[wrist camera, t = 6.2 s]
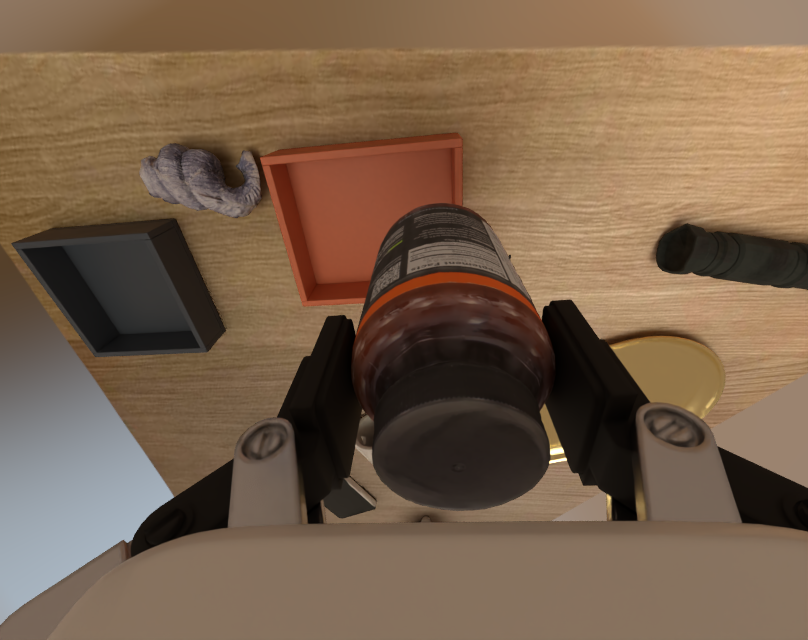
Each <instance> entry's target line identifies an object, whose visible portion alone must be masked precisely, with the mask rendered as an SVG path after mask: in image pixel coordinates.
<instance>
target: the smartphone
mask: <svg viewBox="0 0 808 640" xmlns="http://www.w3.org/2000/svg"><path fill="white" fill-rule="evenodd" d="M323 501H324V506H325V507H326V508H327V509H329V510H330V511H331V512H332V513H334V514H335V515H336V516H337V517H339V518H346V517H349V516H353V515H356V514H360V513H363V512H366V511H370V510H373V509H375V508H376V500H374V499H373V498H372V497H371V496H370V495H369V494H368V493H367V492H366V491H365V490H363V489H362V488H361V487H360V486H359V485H358V484H357V483H356V482H355V481H354V480H353V479H351V478H350V477H349V478H343V483H342V488H341V490H331V491H330V494H329V495H327V496H326V497H325V498H324V499H323Z"/></svg>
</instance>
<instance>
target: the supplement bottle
mask: <svg viewBox="0 0 808 640" xmlns="http://www.w3.org/2000/svg"><path fill="white" fill-rule="evenodd" d="M510 258H511V255H509V257H508V255H507V253H506V251H505V250H504V248H503V246H502V244H501V242H500V240H499V238H498V237H497V235H496V234H495V232H494V231H493V229H492V228H491V226H490V225H489V224H488V223H487V222H486V221H485V219H483V218H482V217H481V216H480V215H479V214H477V213H475V212H474V211H472V210H470V209H468V208H466V207H463V206H460V205H456V204H449V203H434V204H428V205H424V206H420V207H417V208H415V209H413V210H412V211H410V212H408V213H407V214H405V215H404V216H402V217H401V218H399V220H398V221H396V222H395V223H394V224H393V226H392V227H391V228H390V229H389V231H388V232H387V234H386V236H385V237H384V240H383V242H382V243H381V245H380V248H379V251H378V255H377V259H376V262H375V266H374V270H373V273H372V276H371V281H370V284H369V288H368V292H367V295H366V299H365V303H364V307H363V311H362V314H361V318H360V322H359V326H358V329H357V334H356V337H355V341H354V345H353V350H352V360H351V379H352V384H353V388H354V391H355V393H356V396H357V399H358V401H359V403H360V406H361V407H362V408H363V410H364V411H365V413H366V414H367V415H368V416H369V417H370V418H371V419H372V420H373V421H374V436H373V446H372V461H373V466H374V469H375V470H376V473H377V475H378V476H379V477H380V479H381V481H382V482H383V483H384V484H385V485H387V486H388V487H389V488H390V489H391V490H392V491H393V492H395V493H396V494H398V495H399V496H401V497H403V498H404V499H406V500H409V501H412V502H414V503H416V504H419V505H422V506H428V507H432V508H438V509H443V510H453V511H464V510H480V509H487V508H491V507H494V506H498V505H502V504H505V503H507V502H509V501H511V500H514V499H516V498H518V497H520V496H522V495H523V494H525V493H526V492H528V491H529V490H531V489H532V488H533V487H534V486H535V485H536V484H537V483H538V482H539V481H540V479H541V478H542V477H543V475H544V474H545V472H546V470H547V468H548V466H549V463H550V458H551V455H550V443H549V439H548V436H547V432H546V430H545V427H544V424H543V422H542V420H541V419H542V417H541V414H540V410H541V409H542V408H543V405H544V404H545V402H546V400H547V399H548V397H549V395H550V393H551V391H552V388H553V386H554V381H555V376H556V360H555V353H554V350H553V347H552V343H551V340H550V337H549V335H548V332H547V330H546V328H545V326H544V324H543V322H542V320H541V319H540V316H539V314H538V313H537V311H536V308H535V306H534V304H533V302H532V300H531V297H530V296H529V294H528V292H527V291H526V289H525V287H524V285H523V283H522V281H521V279H520V277H519V275H518V274H517V272H516V270H515V268H514V266H513V264H512V263H511V261H510Z"/></svg>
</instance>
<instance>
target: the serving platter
mask: <svg viewBox="0 0 808 640" xmlns="http://www.w3.org/2000/svg"><path fill="white" fill-rule="evenodd" d="M609 346H610V347H611V348H612V350H613V351H614V353H615V354H616V355H617V357H618V358H619V360H620V361H621V362H622V364H623V365H624V366H625V368H626V369H627V371H628V372H629V373H630V375H631V376H632V377H633V379H634V380H635V382H636V383H637V384H638V386H639V387H640V388H641V390H642V391H643V393H644V394H645V395H646V397H647V398H648V400H649V401H650V402H651V403H653V402H662V403H669V404H673V405H676V406H680V407H682V408H684V409H686V410H688V411H691V412H692V413H694V414H695V415H697V416H698V417H699V418H701V419H703V418H704V417H705V416H706V415H707V414H708V413H709V412H710V411H711V410H712V408H713V407H714V406H715V405H716V403H717V402H718V400H719V398H720V396H721V394H722V392H723V389H724V385H725V370H724V366H723V364H722V362H721V360H720V359H719V357H718V356H717V355H716V354H715V353H714V352H713V351H712V350H710V349H709V348H708V347H706V346H704V345H703V344H701V343H698V342H696V341H693V340H690V339H686V338H681V337H674V336H647V337H639V338H634V339H630V340H625V341H621V342H617V343H613V344H609ZM540 414H541V417H542V419H541V420H542V422H543V424H544V427H545V430H546V432H547V436H548V439H549V443H550V455H551V458H550V463H554V462H560V461H566V460H567V459H566V456H565V454H564V451H563V449H562V446H561V443H560V441H559V438H558V436H557V433H556V431H555V428H554V425H553V423H552V420H551V418H550V415H549V412H548V410H547V407H546V405H545V404H544V405H543V408H542V409H541V410H540Z"/></svg>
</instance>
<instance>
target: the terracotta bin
mask: <svg viewBox="0 0 808 640" xmlns="http://www.w3.org/2000/svg"><path fill="white" fill-rule="evenodd" d="M462 146H463V139H462V137H461V136H460V135H459V134H458V133H447V134H437V135H427V136H416V137H406V138H395V139H385V140H375V141H364V142H354V143H344V144H333V145H323V146H313V147H302V148H292V149H282V150H277V151H275V152H272V153H270V154H267V155H265V156H262V157H260V160H261V164H262V165H263V166H262V167H263V171H264V174H265V178H266V181H267V184H268V188H269V191H270V195H271V198H272V202H273V205H274V208H275V212H276V215H277V219H278V222H279V226H280V229H281V233H282V236H283V239H284V243H285V246H286V250H287V253H288V257H289V260H290V263H291V267H292V270H293V274H294V277H295V281H296V284H297V288H298V291H299V294H300V298H301V301H302V305H303V306H321V305H340V304H358V303H365V299H366V295H367V292H368V288H369V284H370V281H371V276H372V273H373V270H374V266H375V262H376V259H377V255H378V251H379V248H380V245H381V243H382V242H383V240H384V237H385V236H386V234H387V232H388V231H389V229H390V228H391V227H392V226H393V224H394V223H395V222H396V221H398V220H399V218H401V217H402V216H404V215H405V214H407V213H408V212H410V211H412V210H413V209H415V208H417V207H420V206H424V205H428V204H434V203H449V204H456V205H460V206H462V196H463V148H462Z"/></svg>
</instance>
